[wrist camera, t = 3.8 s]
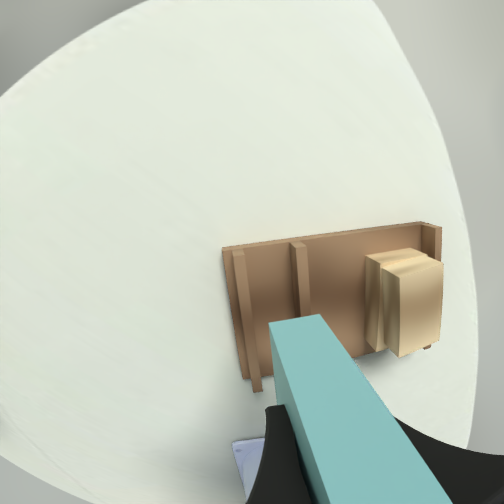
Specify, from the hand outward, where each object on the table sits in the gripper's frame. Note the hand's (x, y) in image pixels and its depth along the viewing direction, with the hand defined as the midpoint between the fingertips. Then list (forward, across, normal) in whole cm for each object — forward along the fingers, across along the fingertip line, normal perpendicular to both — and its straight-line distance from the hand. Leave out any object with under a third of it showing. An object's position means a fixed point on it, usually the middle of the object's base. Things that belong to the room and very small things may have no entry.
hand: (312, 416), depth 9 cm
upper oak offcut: (+7, -8, 0) cm, 11 cm away
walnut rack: (+10, -4, 0) cm, 11 cm away
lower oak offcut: (+9, -8, 0) cm, 12 cm away
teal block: (+2, 0, 0) cm, 2 cm away
